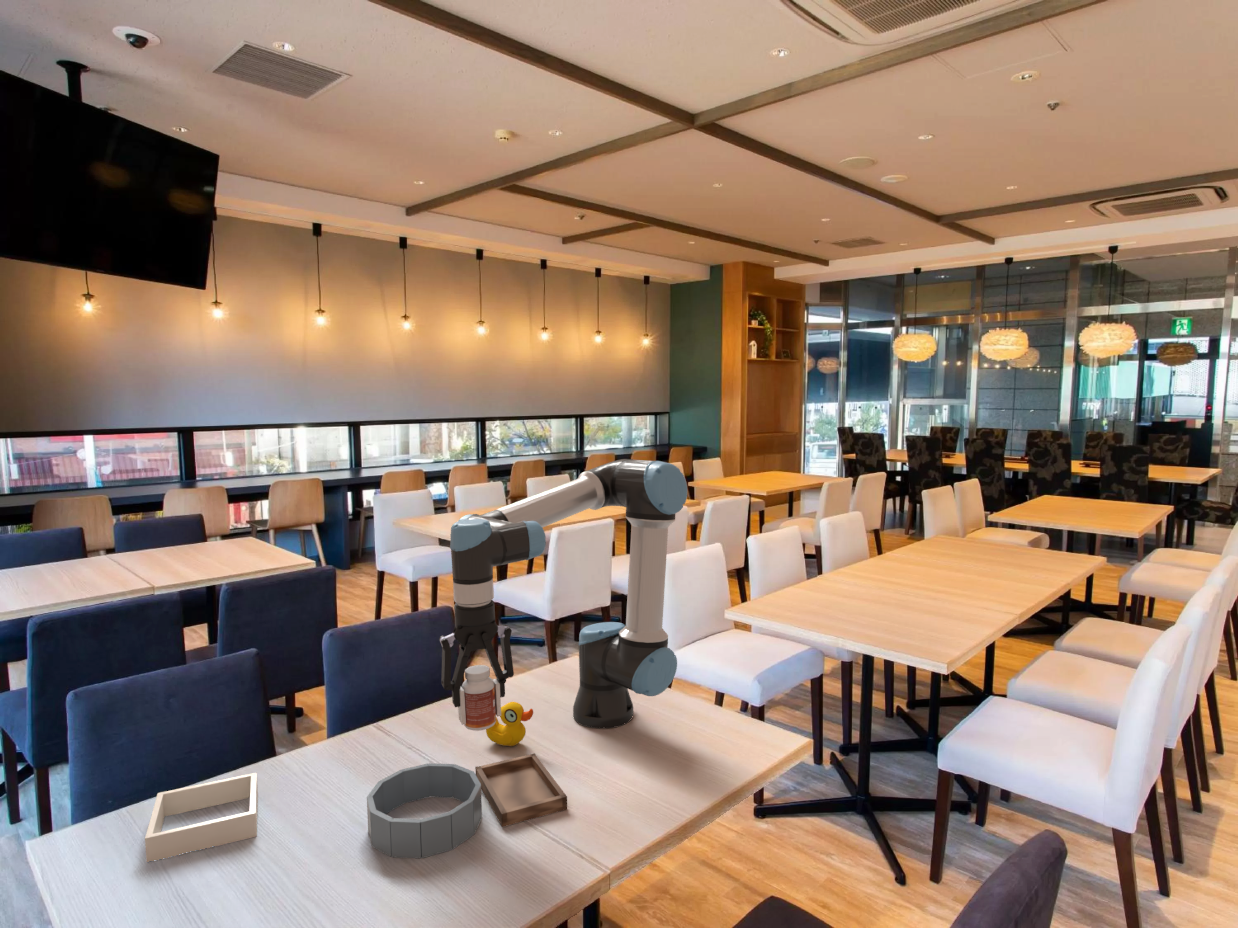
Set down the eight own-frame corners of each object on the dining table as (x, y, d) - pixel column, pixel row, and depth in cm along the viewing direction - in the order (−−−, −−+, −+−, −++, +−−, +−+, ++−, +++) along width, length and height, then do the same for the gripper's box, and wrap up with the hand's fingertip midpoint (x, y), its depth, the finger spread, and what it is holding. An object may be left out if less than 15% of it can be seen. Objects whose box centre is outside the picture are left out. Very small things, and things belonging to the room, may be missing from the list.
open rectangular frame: (258, 793, 146) (256, 772, 145) (256, 836, 132) (255, 812, 131) (159, 815, 139) (157, 792, 138) (146, 862, 124) (144, 838, 124)
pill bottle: (501, 725, 139) (498, 670, 137) (471, 734, 135) (468, 678, 134) (488, 713, 144) (486, 660, 143) (459, 722, 140) (456, 667, 139)
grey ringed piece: (465, 785, 148) (464, 754, 148) (492, 837, 130) (491, 803, 130) (363, 810, 140) (362, 778, 139) (377, 870, 122) (375, 833, 121)
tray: (534, 764, 156) (534, 753, 156) (567, 809, 139) (567, 796, 139) (475, 778, 151) (475, 767, 150) (502, 826, 134) (501, 813, 133)
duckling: (537, 740, 167) (536, 699, 166) (530, 752, 162) (529, 709, 161) (491, 737, 169) (489, 696, 168) (482, 747, 164) (481, 705, 163)
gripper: (516, 589, 144) (521, 699, 147) (419, 603, 136) (426, 720, 139) (528, 598, 138) (533, 714, 140) (426, 614, 129) (433, 736, 132)
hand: (480, 716), depth 139 cm, fingers closed on pill bottle, 6 cm apart
